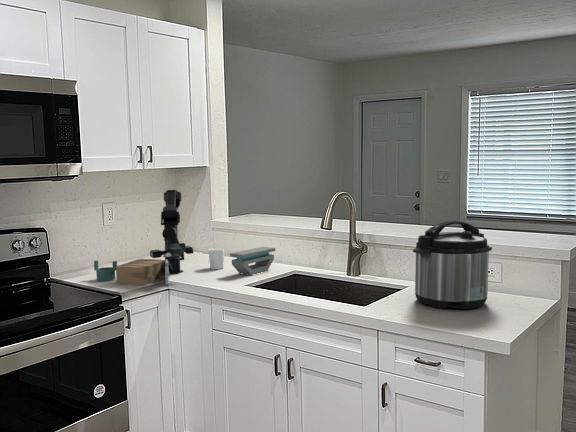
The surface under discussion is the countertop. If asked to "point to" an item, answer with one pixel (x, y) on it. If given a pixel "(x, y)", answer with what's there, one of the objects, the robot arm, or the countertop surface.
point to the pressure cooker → (452, 267)
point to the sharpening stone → (253, 260)
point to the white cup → (216, 258)
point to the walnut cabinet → (140, 272)
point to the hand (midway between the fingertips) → (172, 270)
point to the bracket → (105, 272)
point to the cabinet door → (166, 272)
